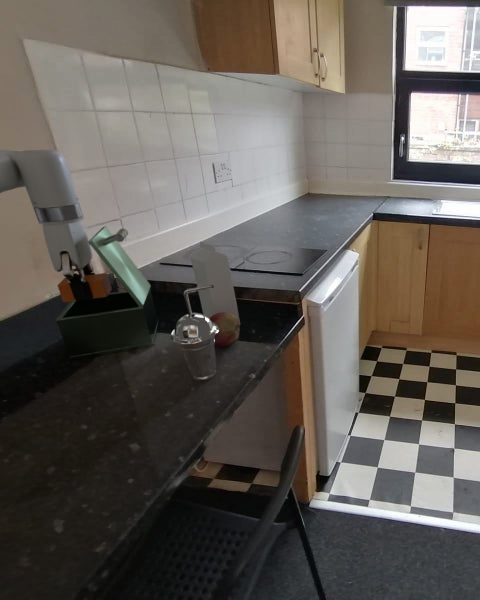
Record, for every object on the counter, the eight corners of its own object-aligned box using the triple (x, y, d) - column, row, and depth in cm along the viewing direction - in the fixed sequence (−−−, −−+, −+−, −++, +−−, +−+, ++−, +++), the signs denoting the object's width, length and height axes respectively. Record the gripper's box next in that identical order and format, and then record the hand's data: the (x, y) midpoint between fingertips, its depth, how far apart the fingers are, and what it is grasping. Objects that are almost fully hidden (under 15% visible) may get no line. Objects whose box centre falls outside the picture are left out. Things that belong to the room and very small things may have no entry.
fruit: (226, 356, 90) (219, 325, 86) (200, 350, 92) (192, 319, 89) (250, 340, 96) (245, 310, 93) (225, 334, 99) (219, 305, 96)
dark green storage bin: (71, 360, 88) (55, 320, 84) (86, 334, 99) (73, 297, 95) (153, 346, 94) (142, 307, 90) (159, 323, 105) (149, 287, 101)
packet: (63, 302, 87) (57, 285, 85) (70, 294, 91) (64, 277, 89) (107, 296, 90) (101, 280, 88) (111, 288, 94) (106, 272, 92)
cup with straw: (205, 360, 88) (185, 275, 80) (237, 368, 85) (221, 281, 77) (172, 381, 81) (147, 290, 73) (207, 391, 78) (184, 297, 70)
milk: (227, 319, 107) (211, 238, 98) (240, 325, 104) (226, 242, 95) (205, 328, 102) (187, 243, 93) (219, 334, 99) (201, 248, 90)
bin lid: (87, 241, 81) (112, 231, 82) (102, 227, 92) (124, 218, 93) (139, 307, 90) (161, 296, 91) (147, 287, 100) (167, 278, 101)
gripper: (51, 207, 89) (78, 284, 96) (20, 224, 74) (55, 312, 82) (92, 205, 91) (115, 279, 99) (69, 220, 77) (98, 306, 84)
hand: (87, 293), depth 90 cm, fingers closed on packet, 5 cm apart
